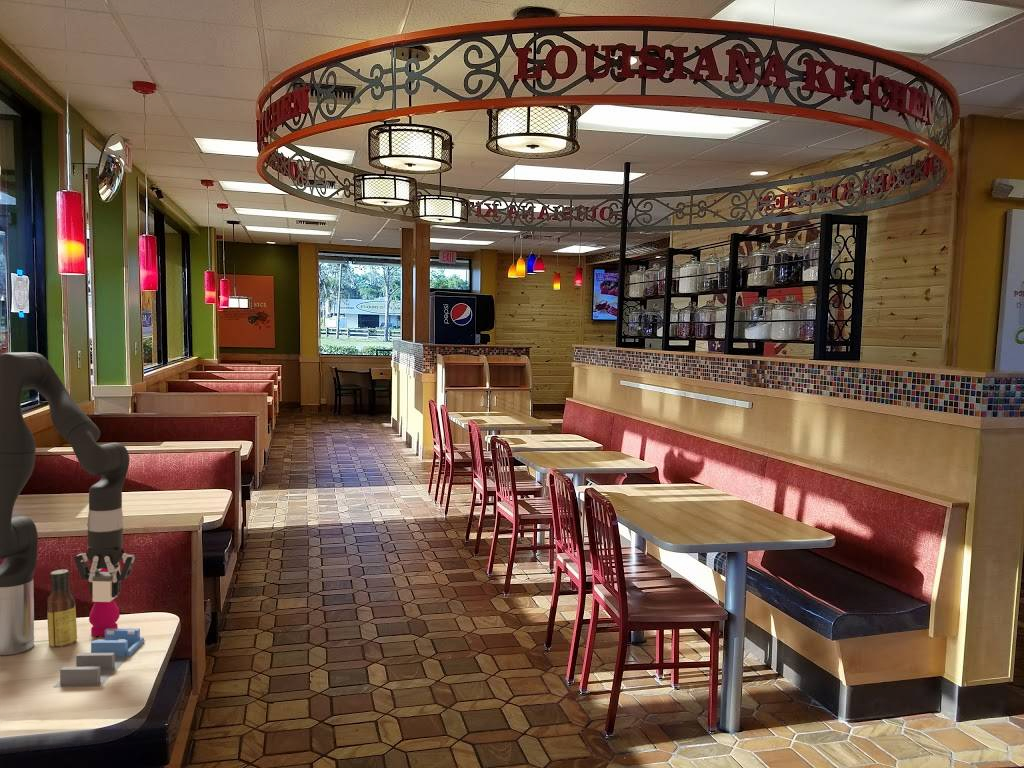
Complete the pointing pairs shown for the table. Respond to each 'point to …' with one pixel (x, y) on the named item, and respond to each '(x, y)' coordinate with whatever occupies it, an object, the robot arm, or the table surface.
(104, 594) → the grey block
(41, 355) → the robot arm
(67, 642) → the sauce bottle
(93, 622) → the pepper mill
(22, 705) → the table surface
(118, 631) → the grey fixture board
